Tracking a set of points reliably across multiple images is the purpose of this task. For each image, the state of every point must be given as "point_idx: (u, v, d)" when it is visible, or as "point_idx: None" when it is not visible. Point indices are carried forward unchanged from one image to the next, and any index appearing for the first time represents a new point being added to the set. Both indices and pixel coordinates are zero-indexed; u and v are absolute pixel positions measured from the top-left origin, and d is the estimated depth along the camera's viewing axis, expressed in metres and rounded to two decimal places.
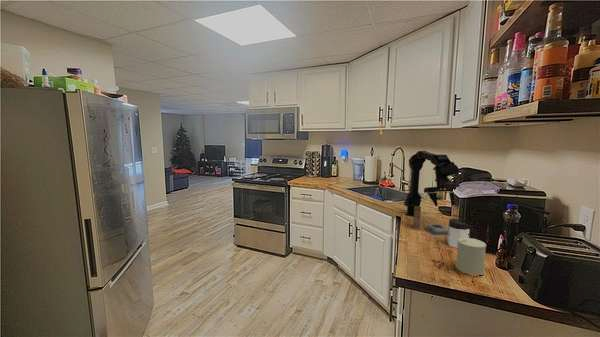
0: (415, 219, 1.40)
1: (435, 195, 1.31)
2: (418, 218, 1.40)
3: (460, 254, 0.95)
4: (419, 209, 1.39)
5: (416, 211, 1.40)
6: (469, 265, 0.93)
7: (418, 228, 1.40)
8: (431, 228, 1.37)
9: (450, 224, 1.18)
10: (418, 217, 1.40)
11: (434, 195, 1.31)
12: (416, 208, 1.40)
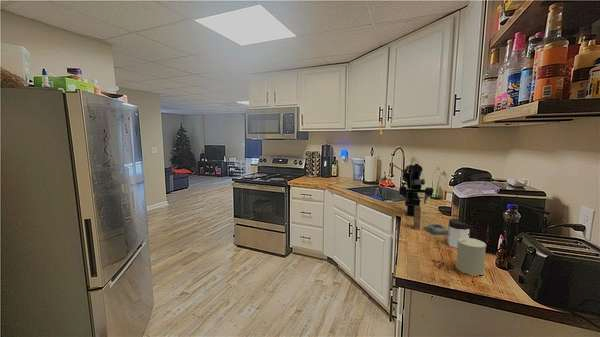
0: (415, 219, 1.40)
1: (406, 192, 1.52)
2: (418, 218, 1.40)
3: (460, 254, 0.95)
4: (419, 209, 1.39)
5: (416, 211, 1.40)
6: (469, 265, 0.93)
7: (418, 228, 1.40)
8: (431, 228, 1.37)
9: (450, 224, 1.18)
10: (418, 217, 1.40)
11: (405, 192, 1.52)
12: (416, 208, 1.40)
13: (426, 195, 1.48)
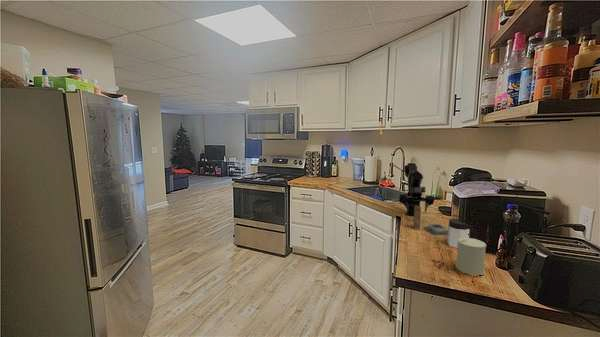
0: (415, 219, 1.40)
1: (406, 200, 1.47)
2: (418, 218, 1.40)
3: (460, 254, 0.95)
4: (419, 209, 1.39)
5: (416, 211, 1.40)
6: (469, 265, 0.93)
7: (418, 228, 1.40)
8: (431, 228, 1.37)
9: (450, 224, 1.18)
10: (418, 217, 1.40)
11: (405, 200, 1.47)
12: (416, 208, 1.40)
13: (427, 203, 1.43)
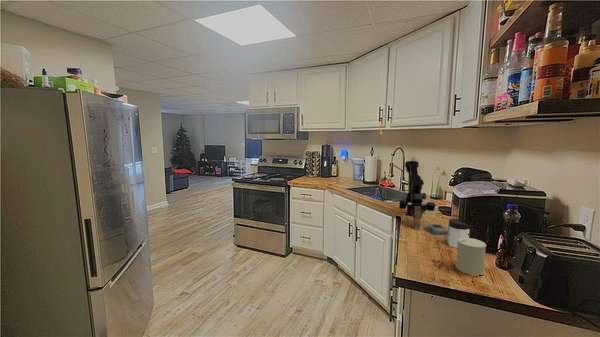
0: (415, 219, 1.40)
1: (412, 207, 1.43)
2: (418, 218, 1.40)
3: (460, 254, 0.95)
4: (419, 209, 1.39)
5: (416, 211, 1.40)
6: (469, 265, 0.93)
7: (418, 228, 1.40)
8: (431, 228, 1.37)
9: (450, 224, 1.18)
10: (418, 217, 1.40)
11: (411, 207, 1.43)
12: (416, 208, 1.40)
13: (422, 210, 1.41)
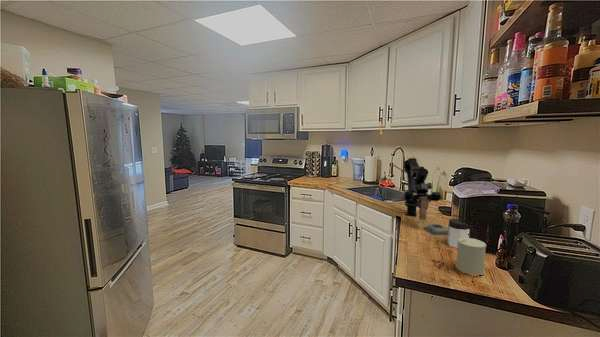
0: (421, 209, 1.38)
1: (417, 198, 1.40)
2: (424, 208, 1.37)
3: (460, 254, 0.95)
4: (425, 199, 1.37)
5: (422, 201, 1.37)
6: (469, 265, 0.93)
7: (424, 218, 1.38)
8: (431, 228, 1.37)
9: (450, 224, 1.18)
10: (424, 207, 1.37)
11: (416, 198, 1.41)
12: (422, 198, 1.37)
13: (428, 200, 1.39)
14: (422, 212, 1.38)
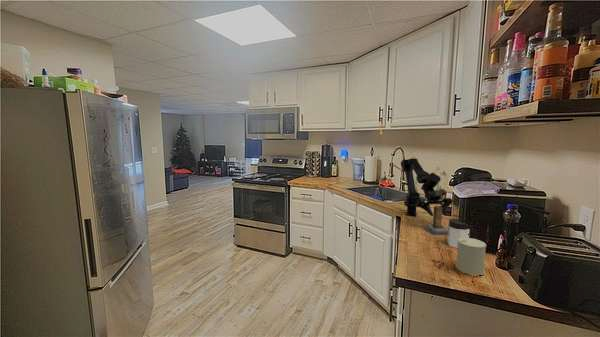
0: (437, 220, 1.35)
1: (428, 205, 1.37)
2: (439, 219, 1.35)
3: (460, 254, 0.95)
4: (441, 209, 1.35)
5: (438, 211, 1.35)
6: (469, 265, 0.93)
7: None
8: (431, 228, 1.37)
9: (450, 224, 1.18)
10: (440, 217, 1.35)
11: (427, 205, 1.37)
12: (438, 208, 1.35)
13: (445, 206, 1.37)
14: (437, 222, 1.36)
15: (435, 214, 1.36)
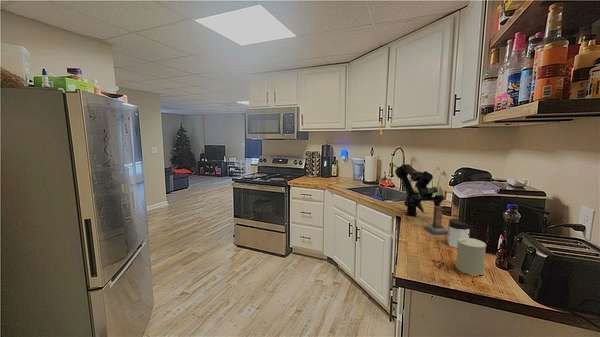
0: (437, 220, 1.35)
1: (419, 202, 1.45)
2: (439, 219, 1.35)
3: (460, 254, 0.95)
4: (441, 209, 1.35)
5: (438, 211, 1.35)
6: (469, 265, 0.93)
7: None
8: (431, 228, 1.37)
9: (450, 224, 1.18)
10: (440, 217, 1.35)
11: (418, 202, 1.46)
12: (438, 208, 1.35)
13: (438, 203, 1.45)
14: (437, 222, 1.36)
15: (435, 214, 1.36)
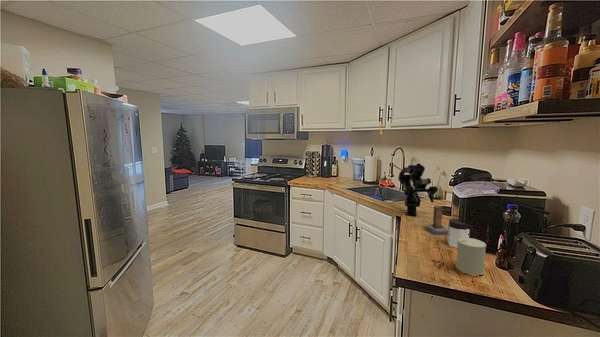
0: (437, 220, 1.35)
1: (413, 192, 1.50)
2: (439, 219, 1.35)
3: (460, 254, 0.95)
4: (441, 209, 1.35)
5: (438, 211, 1.35)
6: (469, 265, 0.93)
7: None
8: (431, 228, 1.37)
9: (450, 224, 1.18)
10: (440, 217, 1.35)
11: (413, 192, 1.50)
12: (438, 208, 1.35)
13: (432, 194, 1.50)
14: (437, 222, 1.36)
15: (435, 214, 1.36)
